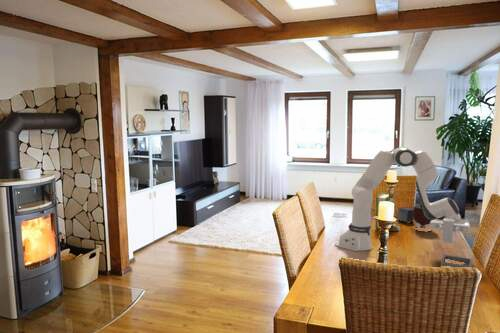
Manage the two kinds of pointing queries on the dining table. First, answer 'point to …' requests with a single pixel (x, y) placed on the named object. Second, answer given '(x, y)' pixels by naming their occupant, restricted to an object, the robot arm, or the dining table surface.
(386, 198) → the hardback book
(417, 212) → the mate gourd
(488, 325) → the dining table surface
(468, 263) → the tray
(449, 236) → the metal block
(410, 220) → the small box
